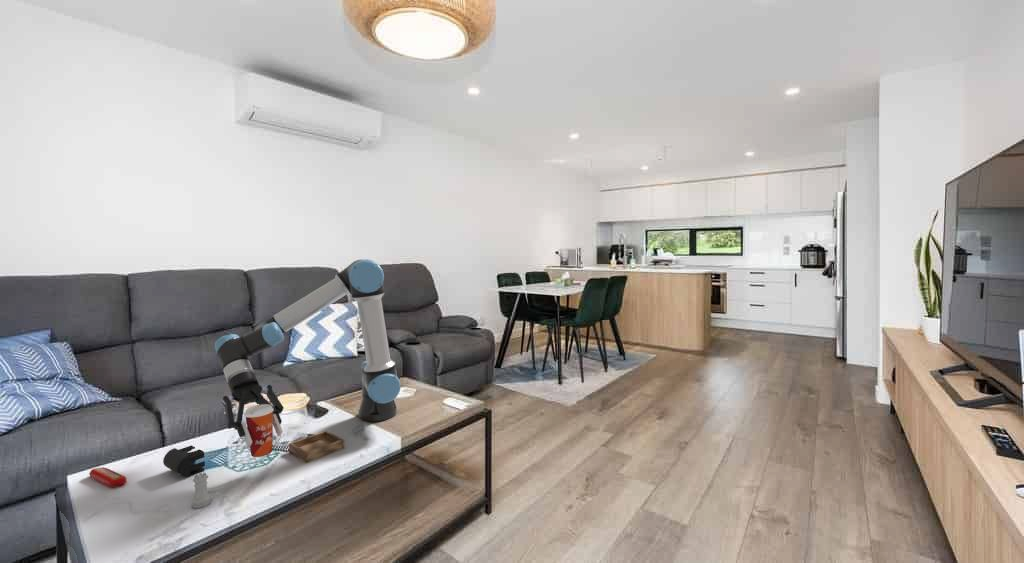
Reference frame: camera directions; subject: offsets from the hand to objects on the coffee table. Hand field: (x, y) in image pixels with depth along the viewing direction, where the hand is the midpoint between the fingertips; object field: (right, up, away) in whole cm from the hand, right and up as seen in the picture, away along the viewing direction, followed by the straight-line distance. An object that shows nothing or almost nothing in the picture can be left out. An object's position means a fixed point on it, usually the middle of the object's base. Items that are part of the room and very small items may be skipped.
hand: (265, 439), depth 124 cm
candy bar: (-46, -12, -2) cm, 47 cm away
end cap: (-27, -12, +3) cm, 29 cm away
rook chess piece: (-9, -12, -13) cm, 20 cm away
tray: (+7, -10, +17) cm, 21 cm away
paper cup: (-3, -5, +3) cm, 6 cm away
